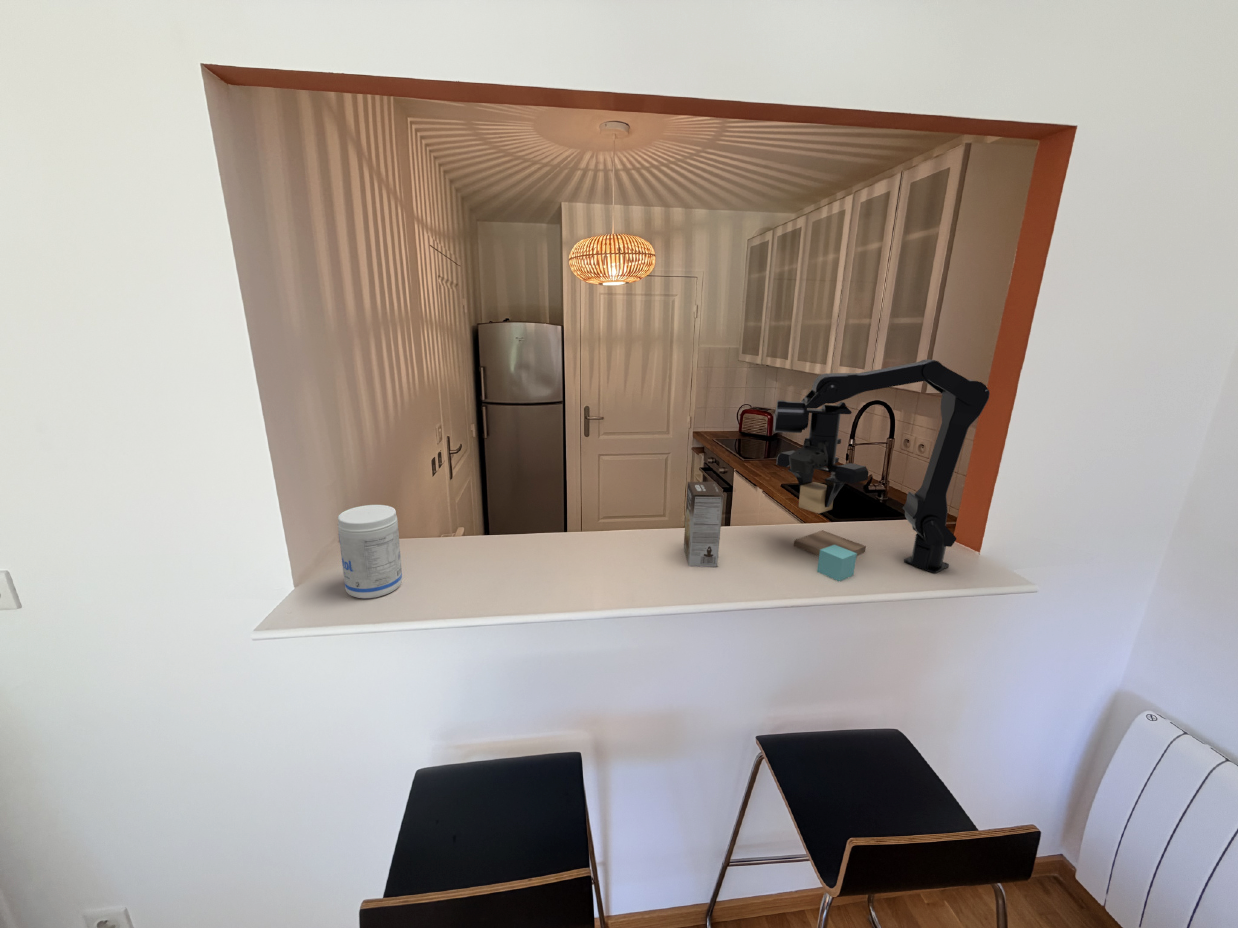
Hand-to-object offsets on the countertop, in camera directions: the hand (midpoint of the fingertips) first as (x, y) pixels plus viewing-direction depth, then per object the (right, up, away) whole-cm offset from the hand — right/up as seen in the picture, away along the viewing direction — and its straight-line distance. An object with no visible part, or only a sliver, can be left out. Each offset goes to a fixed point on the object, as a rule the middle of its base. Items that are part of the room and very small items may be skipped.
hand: (815, 503), depth 108 cm
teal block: (+1, -14, -7) cm, 16 cm away
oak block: (0, -1, 0) cm, 1 cm away
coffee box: (-26, -12, -1) cm, 28 cm away
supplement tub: (-89, -14, -17) cm, 91 cm away
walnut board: (+5, -11, +5) cm, 13 cm away
